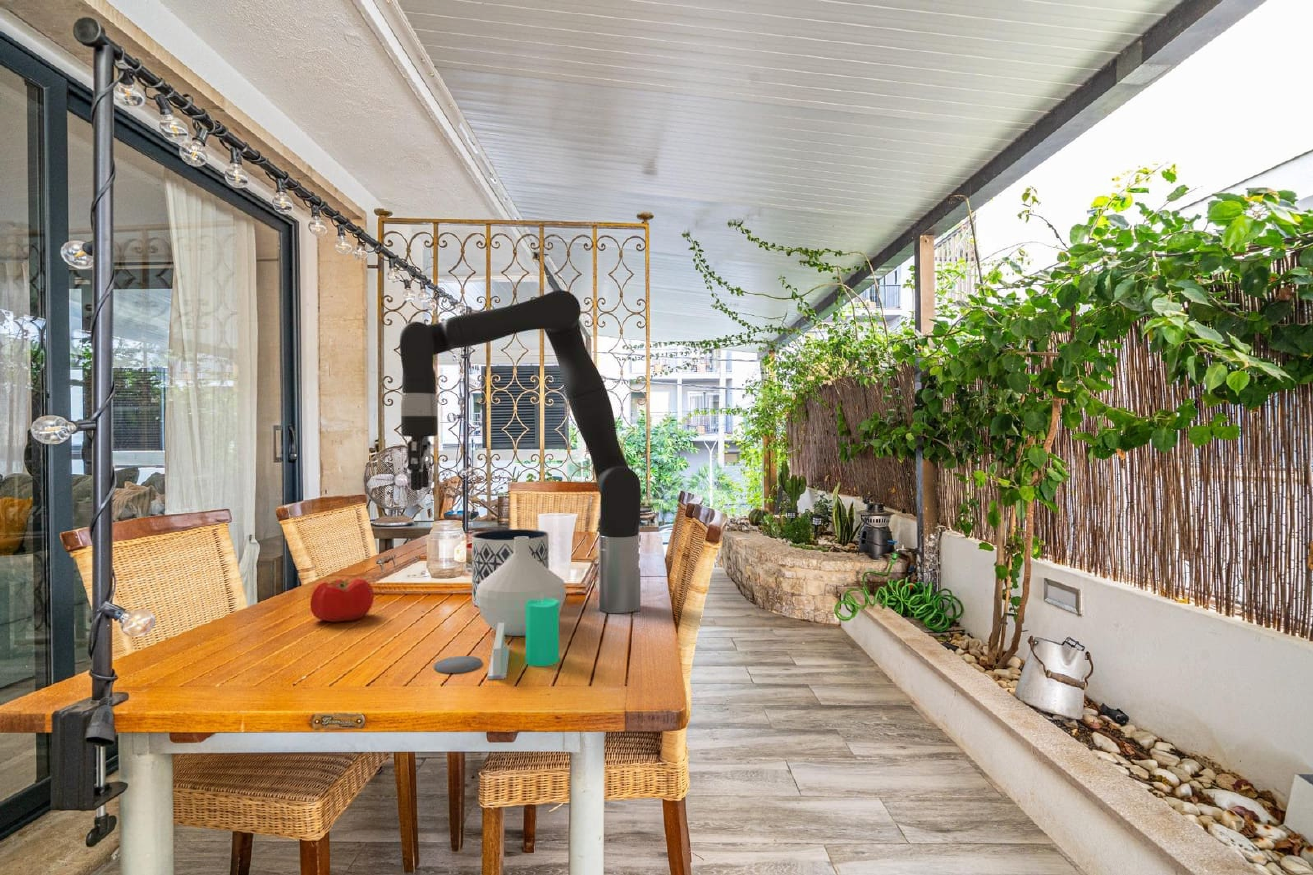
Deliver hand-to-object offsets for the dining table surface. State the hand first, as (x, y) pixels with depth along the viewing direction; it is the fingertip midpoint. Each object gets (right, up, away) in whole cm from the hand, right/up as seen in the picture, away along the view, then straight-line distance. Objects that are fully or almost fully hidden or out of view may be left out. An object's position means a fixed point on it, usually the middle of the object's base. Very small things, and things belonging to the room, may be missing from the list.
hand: (420, 488), depth 149 cm
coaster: (+17, -29, -30) cm, 45 cm away
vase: (+24, -29, -8) cm, 38 cm away
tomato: (-17, -29, +1) cm, 34 cm away
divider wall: (+24, -29, -29) cm, 47 cm away
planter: (+16, -29, +16) cm, 37 cm away
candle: (+31, -29, -28) cm, 51 cm away
